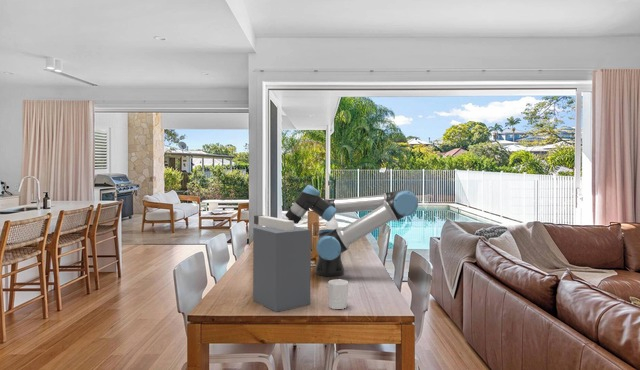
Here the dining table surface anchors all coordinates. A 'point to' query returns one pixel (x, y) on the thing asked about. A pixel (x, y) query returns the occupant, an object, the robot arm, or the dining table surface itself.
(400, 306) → the dining table surface
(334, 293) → the white cup
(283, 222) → the marker rod
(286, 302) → the pedestal
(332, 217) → the robot arm
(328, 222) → the bottle
